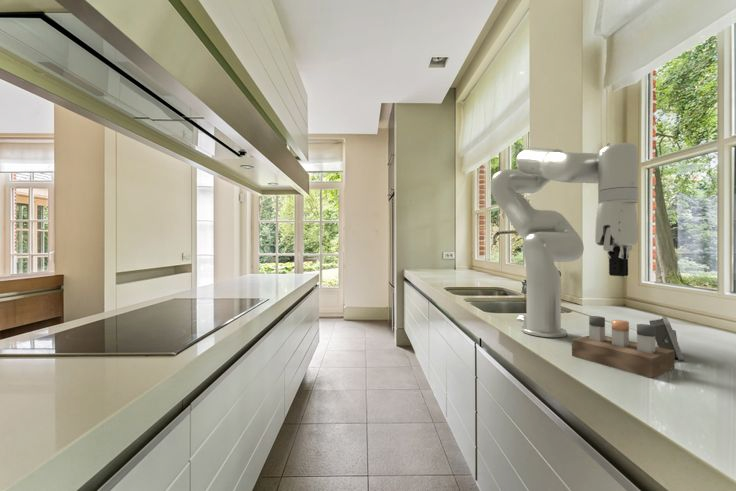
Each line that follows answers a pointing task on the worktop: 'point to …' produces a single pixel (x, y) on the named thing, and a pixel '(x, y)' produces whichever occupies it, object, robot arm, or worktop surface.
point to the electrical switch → (666, 336)
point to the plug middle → (620, 333)
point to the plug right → (646, 338)
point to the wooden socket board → (624, 356)
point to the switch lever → (597, 328)
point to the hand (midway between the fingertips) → (618, 275)
